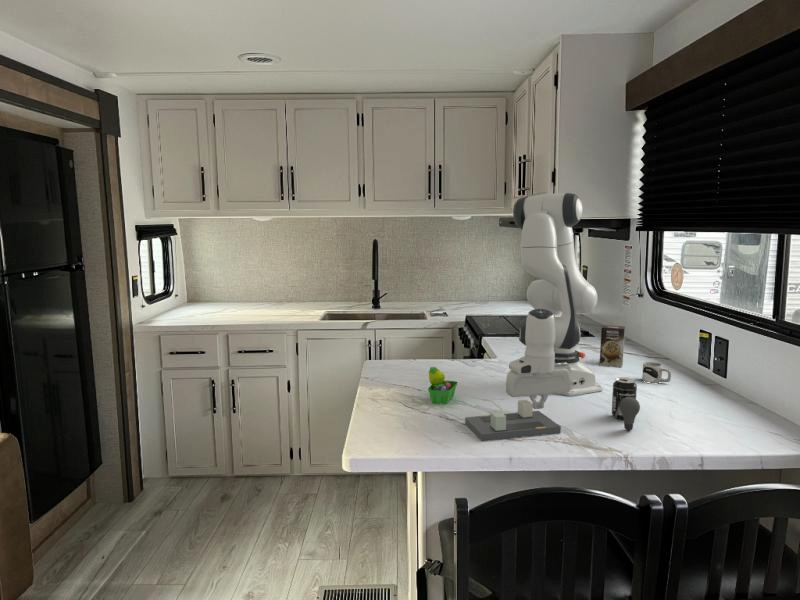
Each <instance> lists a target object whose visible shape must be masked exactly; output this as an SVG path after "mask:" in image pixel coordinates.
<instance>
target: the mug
mask: <svg viewBox="0 0 800 600" xmlns="http://www.w3.org/2000/svg"><path fill="white" fill-rule="evenodd" d="M671 371H672V370H670V368H669V369H668V368H666V367H663V364H662V363H660V362H655V361H645V362H643V363H642V380H643V381H645V382H650V383H659V382H661V383H669V382H671V380H672V372H671ZM663 372H667V374H668V375H667V378H663ZM643 381H642V382H643ZM645 382H644V383H645Z"/></svg>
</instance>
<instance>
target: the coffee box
mask: <svg viewBox="0 0 800 600" xmlns="http://www.w3.org/2000/svg"><path fill="white" fill-rule="evenodd" d="M625 332H626V326H622V325H610V324H602V325H601V331H600V333H601V334H600V349H599V364H598V365H599V366H601V367H602V366H603V367H610V366H612V367H614V368H621V367H622V366H623V365H624V353H625V352H624V349H625V348H624V347H625V337H626V336H625V335H626V333H625ZM612 367H611V368H612ZM622 368H623V367H622Z"/></svg>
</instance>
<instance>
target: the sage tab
mask: <svg viewBox="0 0 800 600" xmlns="http://www.w3.org/2000/svg"><path fill="white" fill-rule="evenodd" d="M504 414H505V413H503V412H502V411H493V412H490V415H491V427H492V428H493V429H494V430H496V431H500V430H506V416H505V415H504Z"/></svg>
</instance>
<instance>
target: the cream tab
mask: <svg viewBox="0 0 800 600" xmlns="http://www.w3.org/2000/svg"><path fill="white" fill-rule="evenodd" d="M532 403H533V402H532V401H529V400H528V399H522V400H520V399H519V400H517V411H516V413H518V414H519V415H520V416H522V417H523V418H524V417H532V412H533V411H534V408H533V404H532Z"/></svg>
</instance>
